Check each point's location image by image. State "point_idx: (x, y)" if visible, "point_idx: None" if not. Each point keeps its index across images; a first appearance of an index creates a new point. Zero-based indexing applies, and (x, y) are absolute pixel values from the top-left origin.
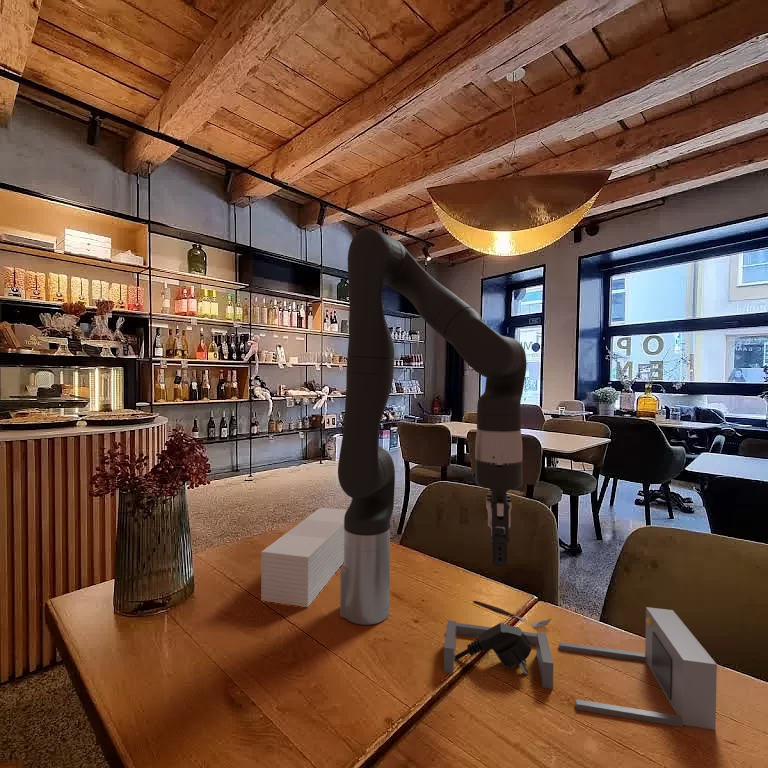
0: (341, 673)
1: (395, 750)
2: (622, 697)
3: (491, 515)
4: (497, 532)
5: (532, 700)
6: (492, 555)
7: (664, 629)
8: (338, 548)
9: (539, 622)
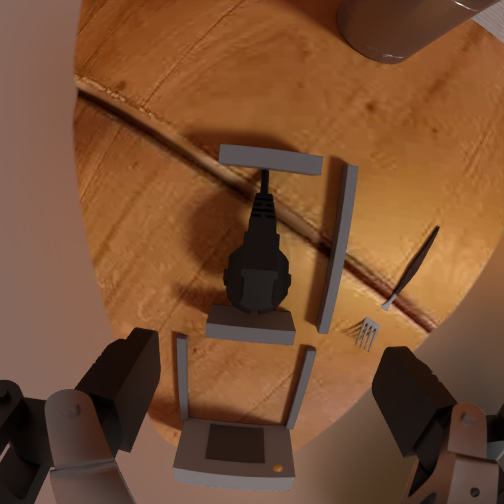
0: (205, 9)
1: (83, 106)
2: (213, 387)
3: (441, 462)
4: (402, 405)
5: (182, 283)
6: (120, 348)
7: (237, 477)
8: (491, 6)
9: (375, 330)
